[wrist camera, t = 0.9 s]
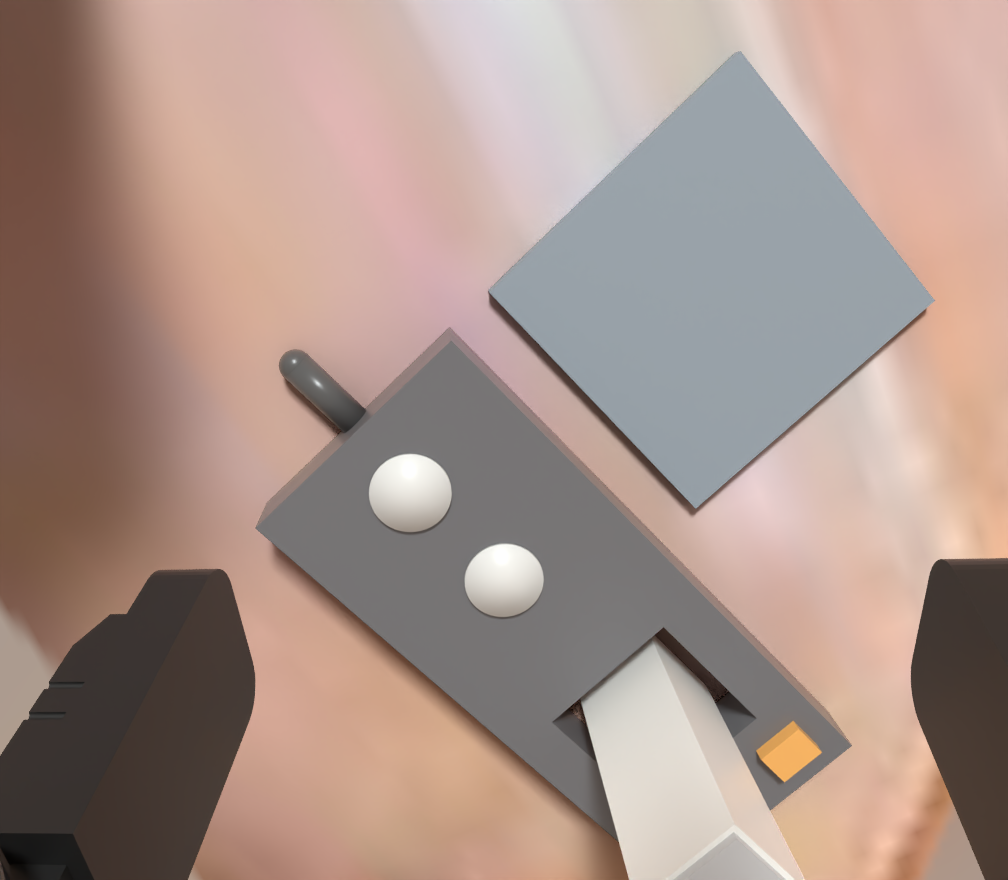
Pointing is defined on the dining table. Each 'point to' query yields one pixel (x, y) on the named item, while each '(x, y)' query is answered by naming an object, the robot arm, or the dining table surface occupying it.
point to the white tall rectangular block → (679, 777)
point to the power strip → (517, 572)
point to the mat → (713, 284)
